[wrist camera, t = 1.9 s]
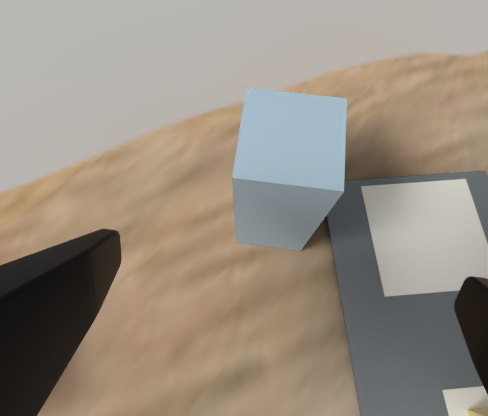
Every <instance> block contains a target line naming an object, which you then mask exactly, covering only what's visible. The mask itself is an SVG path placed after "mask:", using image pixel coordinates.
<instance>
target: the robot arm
mask: <svg viewBox="0 0 488 416" xmlns="http://www.w3.org/2000/svg"><path fill="white" fill-rule="evenodd" d="M120 264H121V244H120V235H119V232H118V231H116V230H110V229H100V230H97V231H95V232H92V233H89V234H86V235H84V236H81V237H78V238H75V239H72V240H70V241H67V242H64V243H61V244H59V245H56V246H53V247H50V248H47V249H45V250H42V251H39V252H36V253H34V254H31V255H28V256H25V257H22V258H20V259H17V260H14V261H11V262H8V263H6V264H3V265H0V416H37V415H38V413H39V411H40V410H41V408H42V406H43V405H44V403H45V401H46V400H47V398H48V396H49V395H50V393H51V391H52V390H53V388H54V387H55V385H56V383H57V382H58V380H59V378H60V377H61V375H62V373H63V372H64V370H65V368H66V367H67V365H68V363H69V362H70V360H71V358H72V357H73V355H74V353H75V352H76V350H77V348H78V347H79V345H80V343H81V342H82V340H83V338H84V337H85V335H86V333H87V332H88V330H89V328H90V327H91V325H92V323H93V322H94V320H95V318H96V316H97V314H98V313H99V310H100V308H101V306H102V304H103V302H104V300H105V298H106V295H107V293H108V291H109V289H110V287H111V284H112V282H113V280H114V278H115V276H116V273H117V271H118V269H119V267H120ZM454 311H455V314H456V317H457V320H458V322H459V325H460V328H461V331H462V334H463V337H464V339H465V342H466V345H467V348H468V351H469V354H470V356H471V359H472V362H473V364H474V367H475V369H476V371H477V374H478V376H479V378H480V380H481V382H482V384H483V386H484V389H485V391H486V393H487V395H488V279H487V278H482V277H474V276H470V277H467V278H466V279H465V280H464V282H463V284H462V286H461V288H460V291H459V293H458V295H457V297H456V299H455V302H454Z"/></svg>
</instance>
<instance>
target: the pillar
mask: <svg viewBox="0 0 488 416" xmlns="http://www.w3.org/2000/svg"><path fill="white" fill-rule="evenodd" d="M346 114H347V99H346V98H337V97H328V96H319V95H309V94H300V93H291V92H282V91H273V90H264V89H255V88H246V93H245V99H244V106H243V112H242V118H241V125H240V131H239V138H238V144H237V150H236V157H235V163H234V169H233V176H232V183H233V199H234V214H235V230H236V243H241V244H249V245H257V246H264V247H272V248H280V249H288V250H295V251H301V250H302V248H303V247H304V246H305V244H306V243H307V241H308V240H309V239H310V237H311V236H312V235H313V233H314V232H315V230H316V229H317V228H318V226H319V225H320V224H321V222H322V221H323V220H324V218H325V217H326V215H327V214H328V213H329V211H330V210H331V209H332V207H333V206H334V205H335V203H336V202H337V200H338V199H339V198H340V196H341V195H342V194H343V192H344V178H345V146H346Z"/></svg>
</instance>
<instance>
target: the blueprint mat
mask: <svg viewBox="0 0 488 416" xmlns="http://www.w3.org/2000/svg"><path fill="white" fill-rule="evenodd" d="M326 218H327V223H328V229H329V235H330V241H331V247H332V252H333V258H334V264H335V270H336V276H337V282H338V287H339V293H340V299H341V305H342V311H343V316H344V322H345V328H346V334H347V340H348V345H349V351H350V357H351V363H352V369H353V374H354V380H355V386H356V392H357V398H358V403H359V409H360V415H361V416H468V412H467V410H469V409H480V408H488V395H487V393H486V391H485V389H484V386H483V384H482V382H481V380H480V378H479V376H478V374H477V371H476V369H475V367H474V364H473V362H472V359H471V356H470V354H469V351H468V348H467V345H466V342H465V339H464V337H463V334H462V331H461V328H460V325H459V322H458V320H457V317H456V314H455V311H454V302H455V299H456V297H457V295H458V293H459V291H460V288H461V286H462V284H463V282H464V280H465V279H466V278H467V277H470V276H474V277H482V278H487V279H488V178H487V175H486V172H485V171H475V172H461V173H446V174H432V175H418V176H404V177H390V178H376V179H362V180H347V181H344V192H343V194H342V195H341V196H340V198H339V199H338V200H337V202H336V203H335V205H334V206H333V207H332V209H331V210H330V211H329V213H328V214H327V215H326Z"/></svg>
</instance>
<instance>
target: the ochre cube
mask: <svg viewBox="0 0 488 416" xmlns="http://www.w3.org/2000/svg"><path fill="white" fill-rule="evenodd" d="M467 412H468V416H488V408H480V409H469V410H467Z"/></svg>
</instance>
